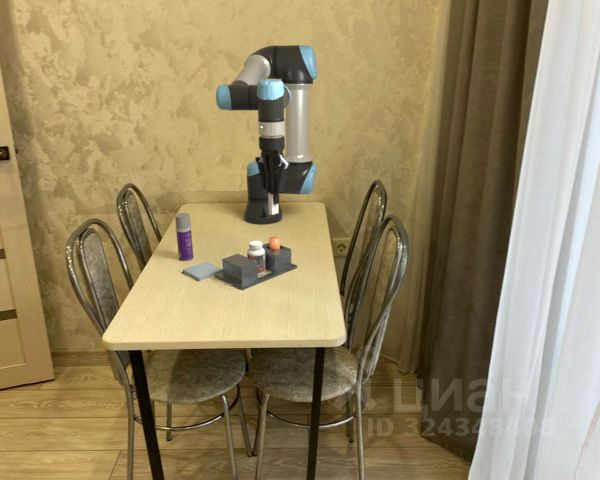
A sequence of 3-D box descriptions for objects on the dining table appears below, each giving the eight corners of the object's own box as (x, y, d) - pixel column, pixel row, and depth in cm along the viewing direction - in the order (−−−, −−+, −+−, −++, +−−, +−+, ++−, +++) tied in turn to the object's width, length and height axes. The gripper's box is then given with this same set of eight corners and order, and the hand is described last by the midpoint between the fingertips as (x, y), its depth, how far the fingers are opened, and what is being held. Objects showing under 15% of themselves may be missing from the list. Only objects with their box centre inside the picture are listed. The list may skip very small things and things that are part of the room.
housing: (269, 256, 179) (268, 239, 177) (297, 267, 170) (297, 250, 168) (215, 276, 164) (213, 258, 162) (242, 290, 156) (241, 271, 154)
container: (190, 262, 175) (186, 217, 170) (176, 260, 176) (172, 217, 171) (195, 256, 180) (192, 213, 174) (182, 255, 181) (178, 212, 175)
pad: (206, 264, 174) (206, 261, 173) (223, 272, 168) (223, 269, 167) (182, 272, 168) (182, 269, 167) (199, 281, 162) (199, 277, 161)
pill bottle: (247, 276, 165) (246, 246, 161) (248, 269, 170) (247, 239, 166) (265, 275, 165) (264, 245, 161) (265, 268, 170) (264, 239, 166)
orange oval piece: (275, 250, 173) (274, 236, 171) (282, 253, 171) (282, 238, 169) (267, 253, 171) (266, 238, 169) (274, 256, 169) (274, 241, 167)
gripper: (247, 134, 160) (250, 211, 168) (277, 140, 151) (279, 220, 159) (266, 131, 165) (268, 206, 173) (296, 136, 156) (297, 215, 164)
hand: (273, 213), depth 166 cm, fingers closed
